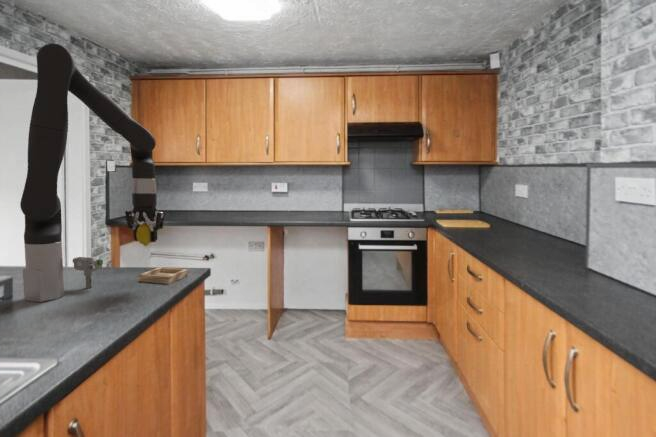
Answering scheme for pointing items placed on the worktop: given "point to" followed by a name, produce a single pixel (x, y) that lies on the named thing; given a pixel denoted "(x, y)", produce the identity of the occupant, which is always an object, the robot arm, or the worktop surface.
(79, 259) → the mechanical component
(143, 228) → the lemon
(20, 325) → the worktop surface
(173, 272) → the tray
